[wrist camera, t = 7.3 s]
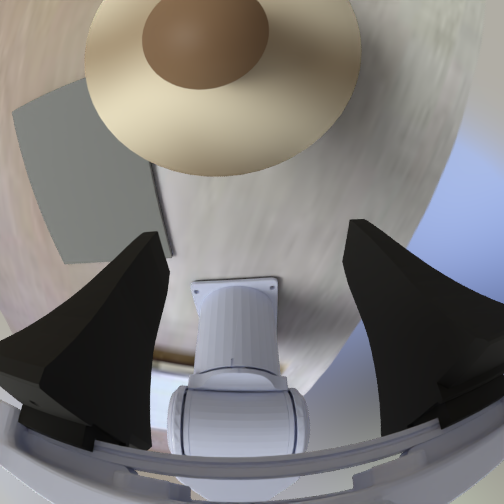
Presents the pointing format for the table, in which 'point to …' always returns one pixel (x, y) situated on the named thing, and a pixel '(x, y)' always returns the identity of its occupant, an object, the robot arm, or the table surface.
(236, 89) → the lid
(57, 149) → the mat
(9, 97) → the table surface
